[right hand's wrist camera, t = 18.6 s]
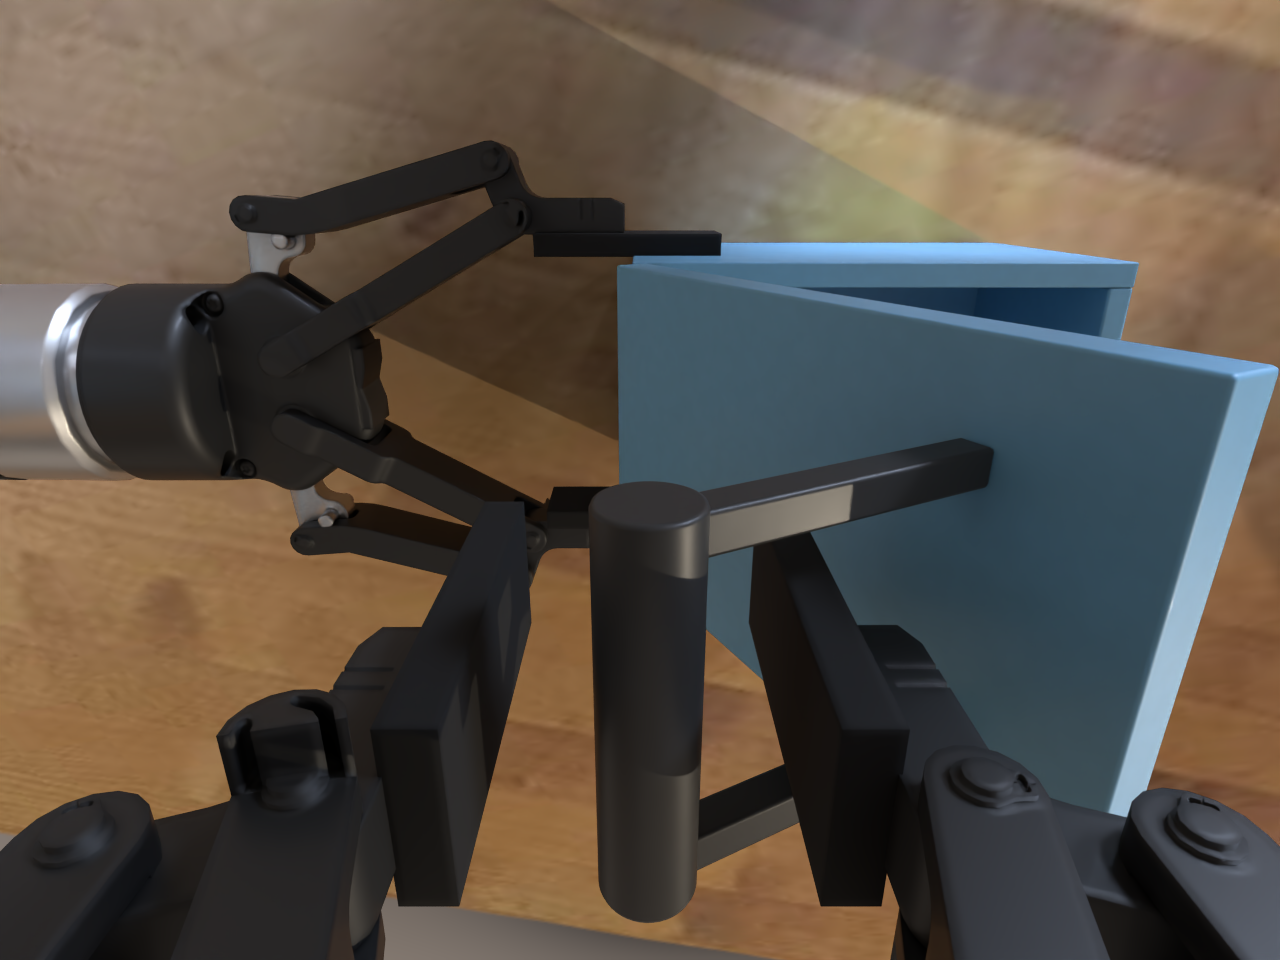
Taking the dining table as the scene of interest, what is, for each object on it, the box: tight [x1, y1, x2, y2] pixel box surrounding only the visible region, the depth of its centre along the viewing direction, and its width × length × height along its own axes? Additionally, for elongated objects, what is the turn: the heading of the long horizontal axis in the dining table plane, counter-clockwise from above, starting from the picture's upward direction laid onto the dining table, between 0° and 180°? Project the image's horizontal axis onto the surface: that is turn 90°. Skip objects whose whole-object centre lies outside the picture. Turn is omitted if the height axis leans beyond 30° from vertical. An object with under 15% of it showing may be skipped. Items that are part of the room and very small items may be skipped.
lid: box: [588, 264, 1279, 923], centre depth 16 cm, size 17×10×8 cm
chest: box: [632, 243, 1139, 340], centre depth 30 cm, size 16×10×10 cm, turn 90°
